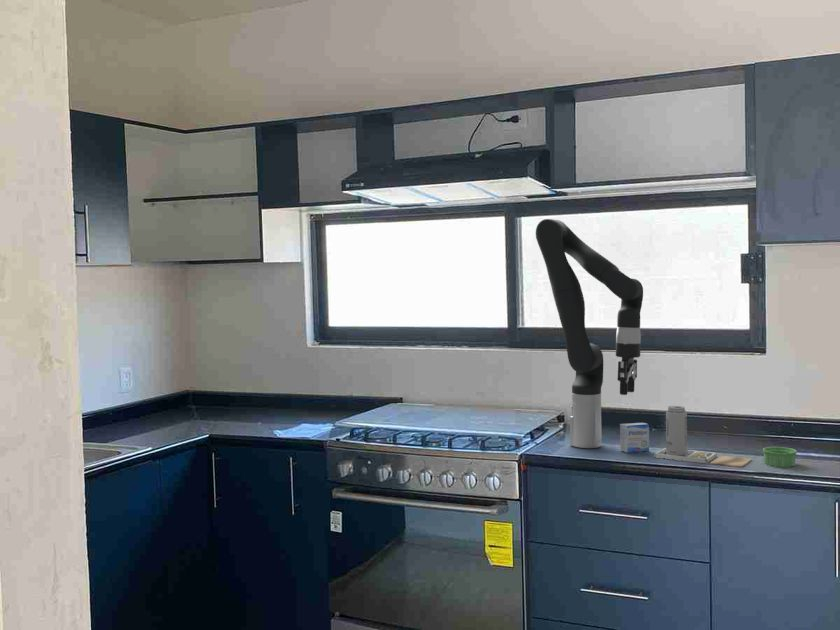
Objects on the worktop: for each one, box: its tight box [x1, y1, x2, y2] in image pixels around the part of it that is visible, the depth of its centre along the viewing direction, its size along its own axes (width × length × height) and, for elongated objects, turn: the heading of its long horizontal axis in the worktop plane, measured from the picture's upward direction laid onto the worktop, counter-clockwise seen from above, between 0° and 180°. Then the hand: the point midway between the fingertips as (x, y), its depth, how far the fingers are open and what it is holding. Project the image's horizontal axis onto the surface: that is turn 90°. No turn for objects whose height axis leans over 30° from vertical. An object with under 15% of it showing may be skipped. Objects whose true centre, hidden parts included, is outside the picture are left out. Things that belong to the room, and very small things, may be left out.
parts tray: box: [653, 447, 718, 464], centre depth 251 cm, size 16×10×1 cm, turn 55°
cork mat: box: [709, 455, 753, 469], centre depth 244 cm, size 9×11×1 cm
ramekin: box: [762, 446, 798, 468], centre depth 240 cm, size 9×9×4 cm
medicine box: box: [619, 422, 650, 454], centre depth 261 cm, size 8×4×9 cm, turn 105°
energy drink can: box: [665, 405, 688, 457], centre depth 252 cm, size 6×6×15 cm
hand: (627, 393), depth 261 cm, fingers open, 8 cm apart
